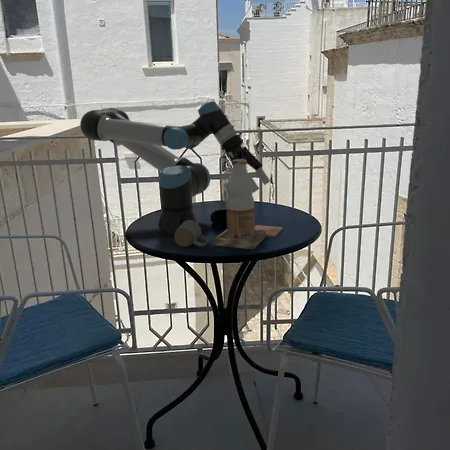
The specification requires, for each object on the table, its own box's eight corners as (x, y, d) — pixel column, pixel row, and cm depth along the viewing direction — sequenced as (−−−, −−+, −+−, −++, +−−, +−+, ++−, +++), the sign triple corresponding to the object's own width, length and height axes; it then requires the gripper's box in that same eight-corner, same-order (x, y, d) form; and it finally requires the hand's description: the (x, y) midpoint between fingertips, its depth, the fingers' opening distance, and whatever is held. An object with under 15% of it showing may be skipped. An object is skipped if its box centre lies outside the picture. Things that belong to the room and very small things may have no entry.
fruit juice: (222, 243, 156) (219, 161, 148) (235, 235, 164) (233, 157, 156) (247, 247, 151) (245, 162, 143) (259, 238, 159) (258, 158, 151)
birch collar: (215, 245, 154) (214, 238, 153) (230, 233, 166) (229, 226, 165) (253, 249, 149) (253, 242, 148) (265, 236, 161) (265, 230, 160)
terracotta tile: (247, 235, 164) (247, 232, 163) (256, 227, 172) (256, 225, 172) (274, 237, 160) (274, 235, 160) (282, 229, 169) (282, 227, 169)
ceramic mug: (173, 247, 153) (172, 225, 151) (181, 240, 161) (180, 219, 158) (203, 250, 151) (202, 227, 148) (210, 242, 158) (209, 220, 156)
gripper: (223, 137, 155) (259, 188, 156) (248, 130, 178) (279, 175, 178) (208, 149, 159) (242, 199, 159) (234, 141, 181) (264, 185, 181)
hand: (262, 187), depth 169 cm, fingers open, 13 cm apart
